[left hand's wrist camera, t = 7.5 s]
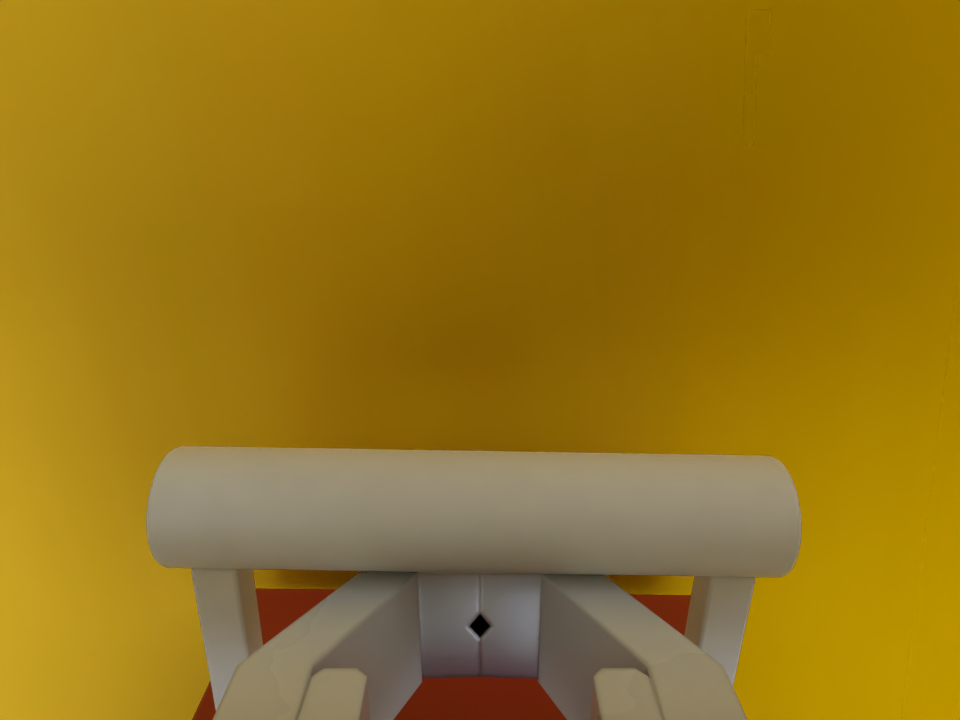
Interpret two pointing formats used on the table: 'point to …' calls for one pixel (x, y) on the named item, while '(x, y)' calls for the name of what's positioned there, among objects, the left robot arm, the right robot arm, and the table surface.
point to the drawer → (467, 539)
